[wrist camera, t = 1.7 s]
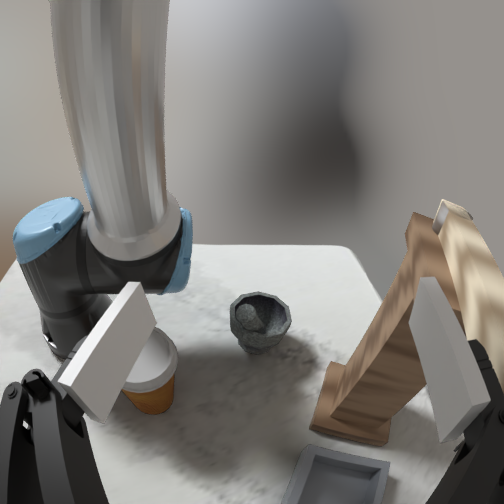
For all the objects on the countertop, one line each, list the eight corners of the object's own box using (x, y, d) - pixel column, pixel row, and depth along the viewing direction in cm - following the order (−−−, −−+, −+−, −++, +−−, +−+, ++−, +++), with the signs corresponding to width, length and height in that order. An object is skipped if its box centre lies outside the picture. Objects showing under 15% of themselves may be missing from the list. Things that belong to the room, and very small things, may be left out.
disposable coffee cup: (196, 390, 40) (193, 344, 33) (159, 436, 32) (142, 402, 25) (147, 359, 43) (134, 309, 36) (109, 399, 35) (83, 355, 28)
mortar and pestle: (247, 311, 54) (255, 260, 47) (292, 334, 51) (308, 284, 44) (211, 349, 46) (212, 298, 39) (259, 378, 43) (272, 331, 36)
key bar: (513, 424, 9) (547, 395, 7) (470, 420, 10) (507, 389, 8) (457, 231, 28) (467, 209, 26) (429, 220, 28) (438, 197, 27)
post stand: (379, 457, 31) (522, 332, 15) (305, 440, 34) (410, 294, 18) (390, 376, 44) (480, 238, 27) (329, 358, 47) (398, 206, 30)
